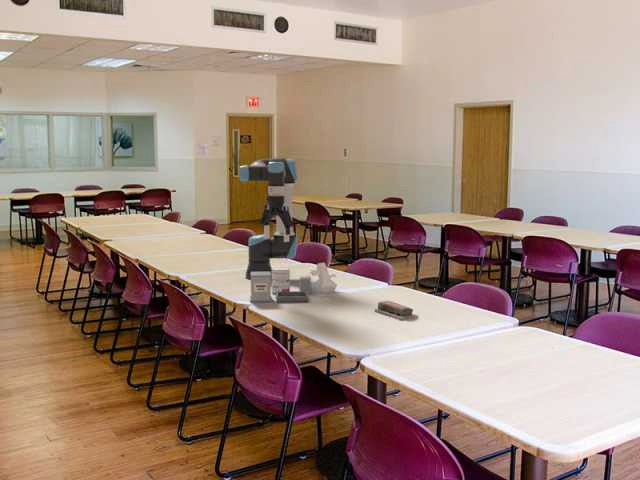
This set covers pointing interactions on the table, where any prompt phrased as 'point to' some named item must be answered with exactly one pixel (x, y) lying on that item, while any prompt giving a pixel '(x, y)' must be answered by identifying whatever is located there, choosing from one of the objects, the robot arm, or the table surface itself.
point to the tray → (292, 296)
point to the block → (305, 283)
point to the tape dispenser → (323, 280)
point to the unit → (260, 287)
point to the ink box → (280, 280)
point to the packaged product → (395, 310)
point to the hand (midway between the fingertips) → (276, 240)
